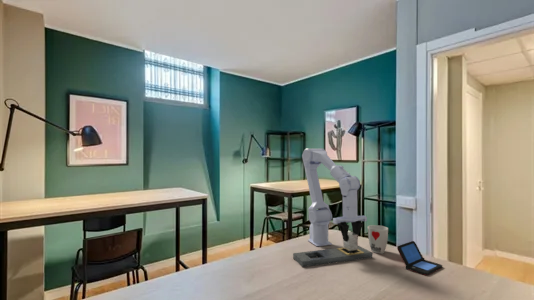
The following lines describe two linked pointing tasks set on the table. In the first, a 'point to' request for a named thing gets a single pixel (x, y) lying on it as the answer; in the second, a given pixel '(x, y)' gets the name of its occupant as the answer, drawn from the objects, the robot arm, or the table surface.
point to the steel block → (351, 242)
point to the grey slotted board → (330, 256)
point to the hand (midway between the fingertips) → (350, 240)
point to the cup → (377, 238)
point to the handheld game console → (416, 259)
